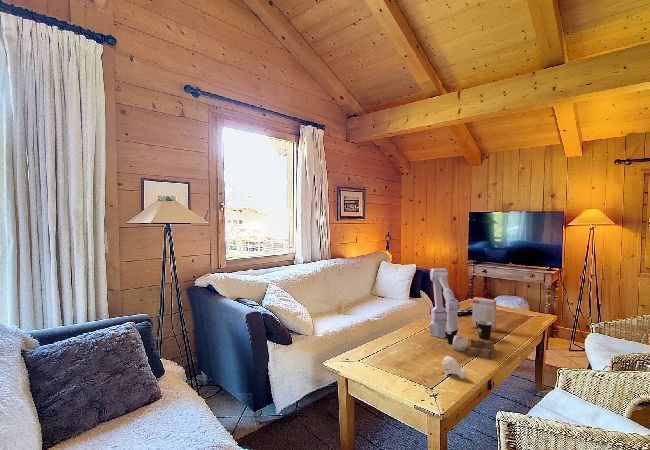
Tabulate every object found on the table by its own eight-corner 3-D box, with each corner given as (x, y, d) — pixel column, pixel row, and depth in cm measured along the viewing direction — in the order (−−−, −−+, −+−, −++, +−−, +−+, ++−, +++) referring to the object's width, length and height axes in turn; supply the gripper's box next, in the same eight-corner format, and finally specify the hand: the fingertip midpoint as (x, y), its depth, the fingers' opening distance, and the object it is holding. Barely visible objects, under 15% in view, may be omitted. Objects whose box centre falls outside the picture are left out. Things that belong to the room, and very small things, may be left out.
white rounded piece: (447, 353, 172) (470, 363, 163) (446, 368, 173) (468, 379, 164) (441, 356, 168) (464, 367, 159) (439, 372, 169) (462, 384, 160)
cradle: (466, 354, 191) (466, 345, 190) (470, 345, 203) (471, 337, 203) (491, 359, 184) (491, 350, 183) (494, 349, 197) (494, 341, 196)
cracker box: (496, 329, 229) (496, 299, 228) (493, 332, 225) (494, 301, 224) (474, 325, 239) (475, 296, 238) (472, 327, 234) (472, 298, 233)
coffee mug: (493, 341, 210) (493, 325, 209) (478, 340, 211) (479, 324, 211) (488, 334, 221) (488, 319, 221) (474, 333, 223) (474, 318, 222)
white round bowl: (450, 348, 198) (450, 338, 198) (453, 343, 206) (453, 333, 206) (466, 352, 193) (466, 341, 193) (469, 346, 201) (469, 337, 201)
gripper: (456, 324, 193) (456, 347, 194) (461, 317, 205) (461, 339, 206) (443, 322, 197) (443, 345, 198) (449, 316, 209) (449, 337, 210)
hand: (451, 342), depth 202 cm, fingers open, 7 cm apart
